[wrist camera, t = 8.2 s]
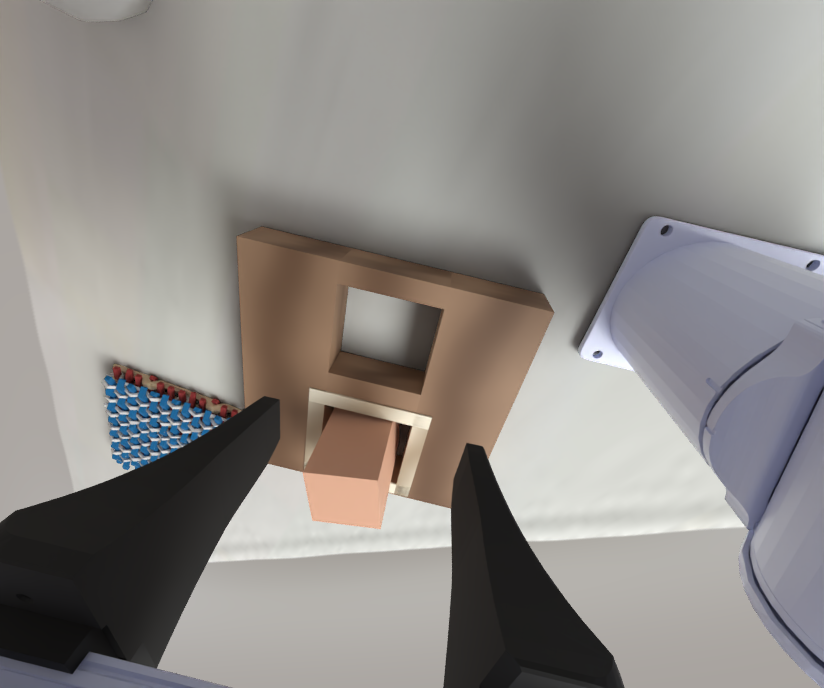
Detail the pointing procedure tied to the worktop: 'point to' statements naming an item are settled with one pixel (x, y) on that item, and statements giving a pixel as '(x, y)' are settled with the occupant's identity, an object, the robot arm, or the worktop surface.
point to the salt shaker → (100, 9)
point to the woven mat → (155, 416)
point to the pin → (352, 469)
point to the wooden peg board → (372, 379)
